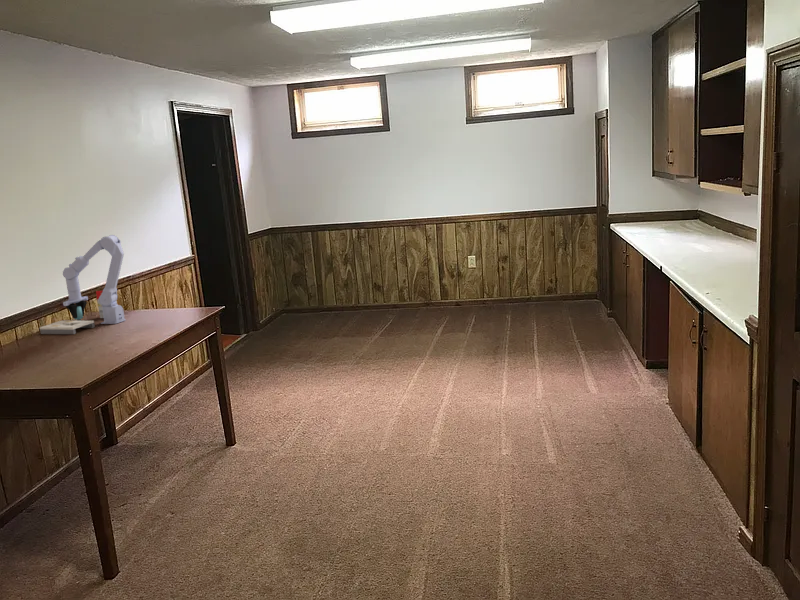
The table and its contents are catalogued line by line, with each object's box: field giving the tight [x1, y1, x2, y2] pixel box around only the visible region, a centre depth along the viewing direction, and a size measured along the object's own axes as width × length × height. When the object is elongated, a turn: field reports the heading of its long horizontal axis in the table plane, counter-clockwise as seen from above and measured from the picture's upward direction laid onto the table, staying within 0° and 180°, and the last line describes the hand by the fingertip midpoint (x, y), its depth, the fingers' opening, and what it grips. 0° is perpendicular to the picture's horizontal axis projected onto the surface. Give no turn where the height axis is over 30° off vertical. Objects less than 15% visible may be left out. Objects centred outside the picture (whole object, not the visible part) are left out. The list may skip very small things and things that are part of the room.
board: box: [39, 320, 95, 335], centre depth 336 cm, size 20×14×4 cm
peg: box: [73, 306, 84, 321], centre depth 346 cm, size 4×4×9 cm
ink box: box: [95, 290, 118, 319], centre depth 362 cm, size 8×5×15 cm, turn 84°
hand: (78, 316), depth 346 cm, fingers closed on peg, 4 cm apart
